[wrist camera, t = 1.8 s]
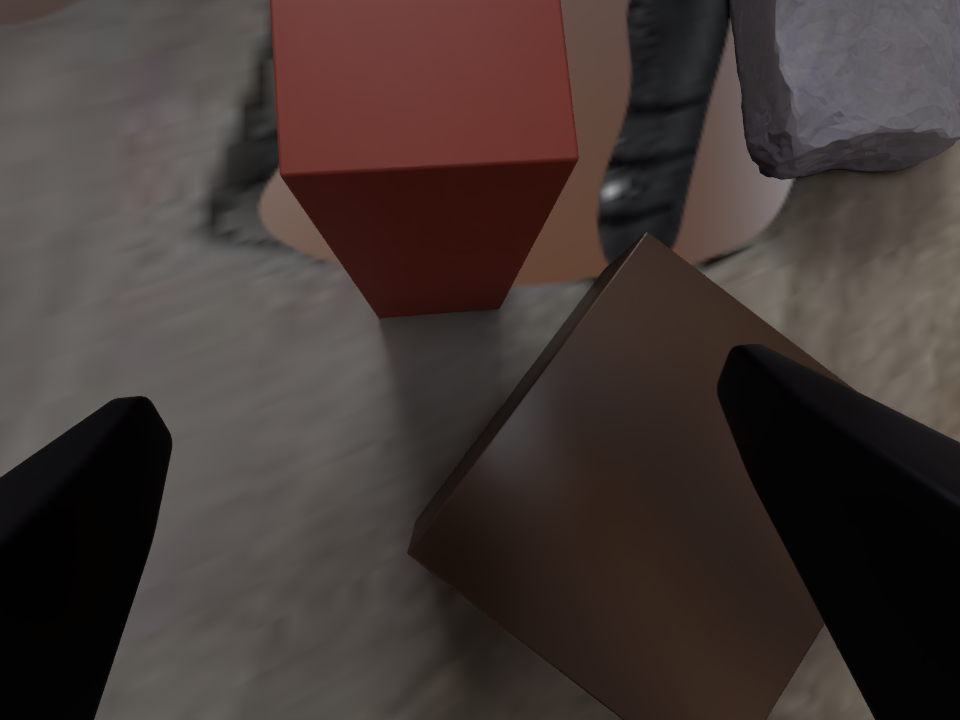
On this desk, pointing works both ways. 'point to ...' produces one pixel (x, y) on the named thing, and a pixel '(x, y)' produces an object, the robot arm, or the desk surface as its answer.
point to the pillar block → (424, 140)
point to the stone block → (847, 82)
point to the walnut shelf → (631, 507)
